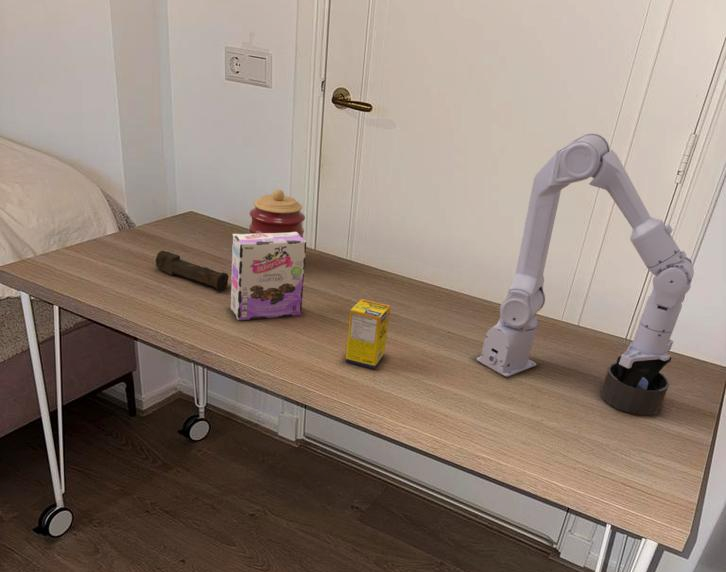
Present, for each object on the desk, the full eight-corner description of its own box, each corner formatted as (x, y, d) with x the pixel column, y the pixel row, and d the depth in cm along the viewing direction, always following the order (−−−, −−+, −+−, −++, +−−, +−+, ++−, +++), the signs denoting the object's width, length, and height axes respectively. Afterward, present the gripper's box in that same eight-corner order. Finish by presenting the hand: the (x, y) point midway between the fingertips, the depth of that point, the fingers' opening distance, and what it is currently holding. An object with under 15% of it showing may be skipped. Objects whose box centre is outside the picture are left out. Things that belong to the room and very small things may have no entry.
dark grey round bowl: (639, 423, 127) (649, 397, 124) (588, 395, 134) (596, 370, 131) (670, 406, 134) (680, 381, 131) (619, 381, 140) (628, 356, 137)
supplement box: (384, 357, 138) (391, 305, 132) (374, 370, 133) (381, 316, 127) (355, 349, 139) (361, 297, 133) (344, 362, 134) (350, 309, 129)
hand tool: (229, 288, 158) (230, 268, 155) (217, 293, 154) (218, 273, 152) (165, 265, 165) (164, 246, 162) (152, 270, 162) (151, 250, 159)
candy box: (237, 321, 144) (239, 243, 135) (229, 309, 148) (231, 232, 140) (302, 316, 150) (307, 240, 141) (292, 304, 154) (297, 230, 145)
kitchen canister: (299, 275, 168) (304, 200, 159) (244, 269, 168) (246, 194, 159) (303, 256, 180) (308, 185, 170) (252, 250, 179) (254, 179, 170)
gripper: (655, 343, 119) (630, 412, 126) (697, 325, 127) (671, 391, 134) (619, 326, 123) (596, 394, 130) (661, 310, 132) (638, 374, 139)
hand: (632, 391), depth 133 cm, fingers closed on decorative dice, 5 cm apart
